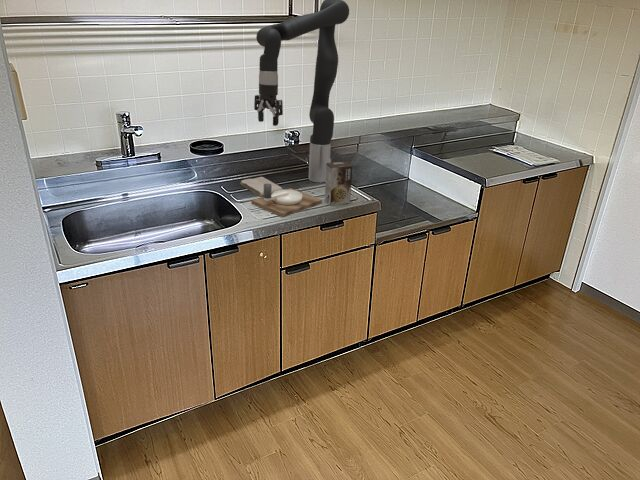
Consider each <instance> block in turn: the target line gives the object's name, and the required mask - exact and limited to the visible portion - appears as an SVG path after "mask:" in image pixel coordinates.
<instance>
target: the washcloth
mask: <svg viewBox="0 0 640 480" xmlns="http://www.w3.org/2000/svg"><path fill="white" fill-rule="evenodd" d="M240 181H241V182H240V183H239V184H240V185H241V186H242V188H244V189H246V190H248V191H250V192H251V193H253V194H255V195H256V196H258V197H264V184H271V185H272V191H271V194H272V193H273V192H275V191H278V190H284V189H283V187H281V186H280V185H278V184H276V183H275V182H272V181H271V180H269V179H267V178H265V177H263V176H259V177H255V178H247V179H243V180H240Z"/></svg>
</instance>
